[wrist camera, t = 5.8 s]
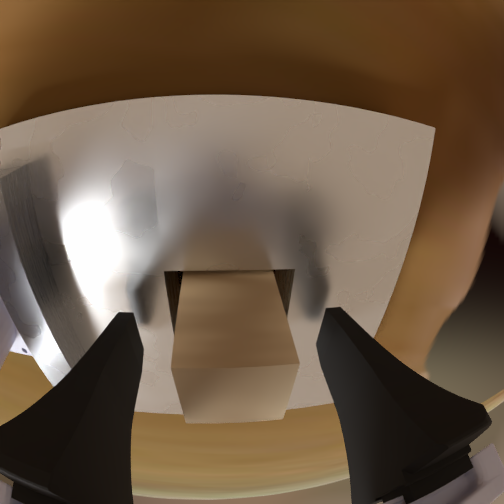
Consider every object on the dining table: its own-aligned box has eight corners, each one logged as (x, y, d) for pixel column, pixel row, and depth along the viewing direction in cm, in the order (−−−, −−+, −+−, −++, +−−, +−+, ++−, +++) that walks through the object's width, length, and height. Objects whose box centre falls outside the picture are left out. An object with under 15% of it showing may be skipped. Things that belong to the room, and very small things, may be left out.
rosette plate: (75, 367, 16) (59, 420, 12) (0, 130, 8) (-66, 156, 4) (329, 366, 18) (348, 421, 15) (392, 117, 10) (465, 137, 7)
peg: (193, 293, 14) (186, 422, 8) (189, 235, 12) (170, 367, 6) (257, 293, 14) (282, 418, 8) (262, 235, 13) (299, 363, 7)
